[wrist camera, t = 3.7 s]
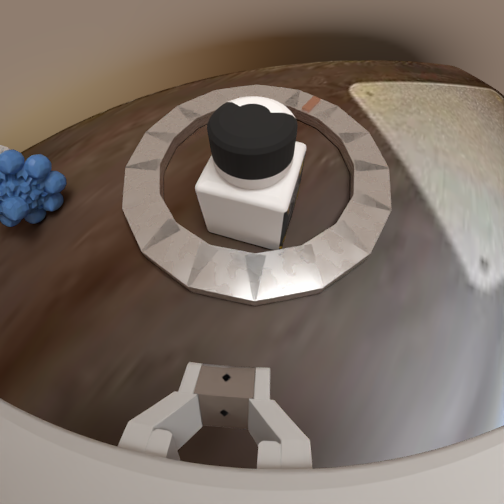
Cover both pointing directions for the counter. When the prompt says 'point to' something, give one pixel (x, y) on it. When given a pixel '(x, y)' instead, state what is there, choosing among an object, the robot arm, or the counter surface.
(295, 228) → the counter surface
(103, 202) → the counter surface
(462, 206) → the counter surface
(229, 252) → the turntable ring
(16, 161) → the grapes
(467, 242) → the counter surface
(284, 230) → the medicine bottle
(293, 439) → the robot arm
